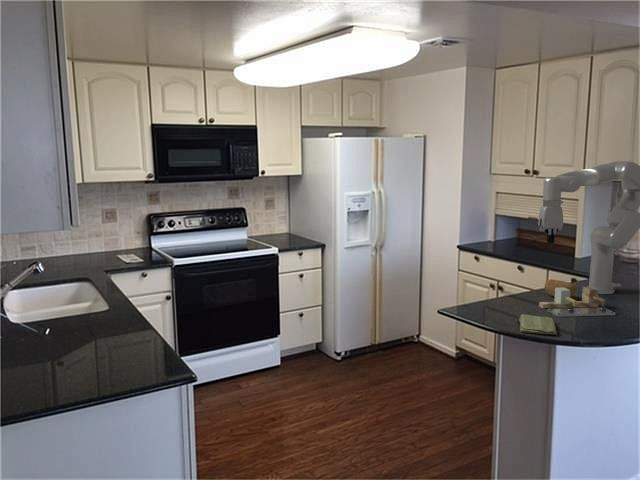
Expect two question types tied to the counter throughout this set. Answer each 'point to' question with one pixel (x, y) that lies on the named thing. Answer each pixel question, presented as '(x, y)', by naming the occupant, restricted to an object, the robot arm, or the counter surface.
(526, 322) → the washcloth
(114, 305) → the counter surface
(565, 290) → the block
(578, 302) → the rail
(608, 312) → the bolt plate
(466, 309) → the counter surface
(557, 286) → the potato
